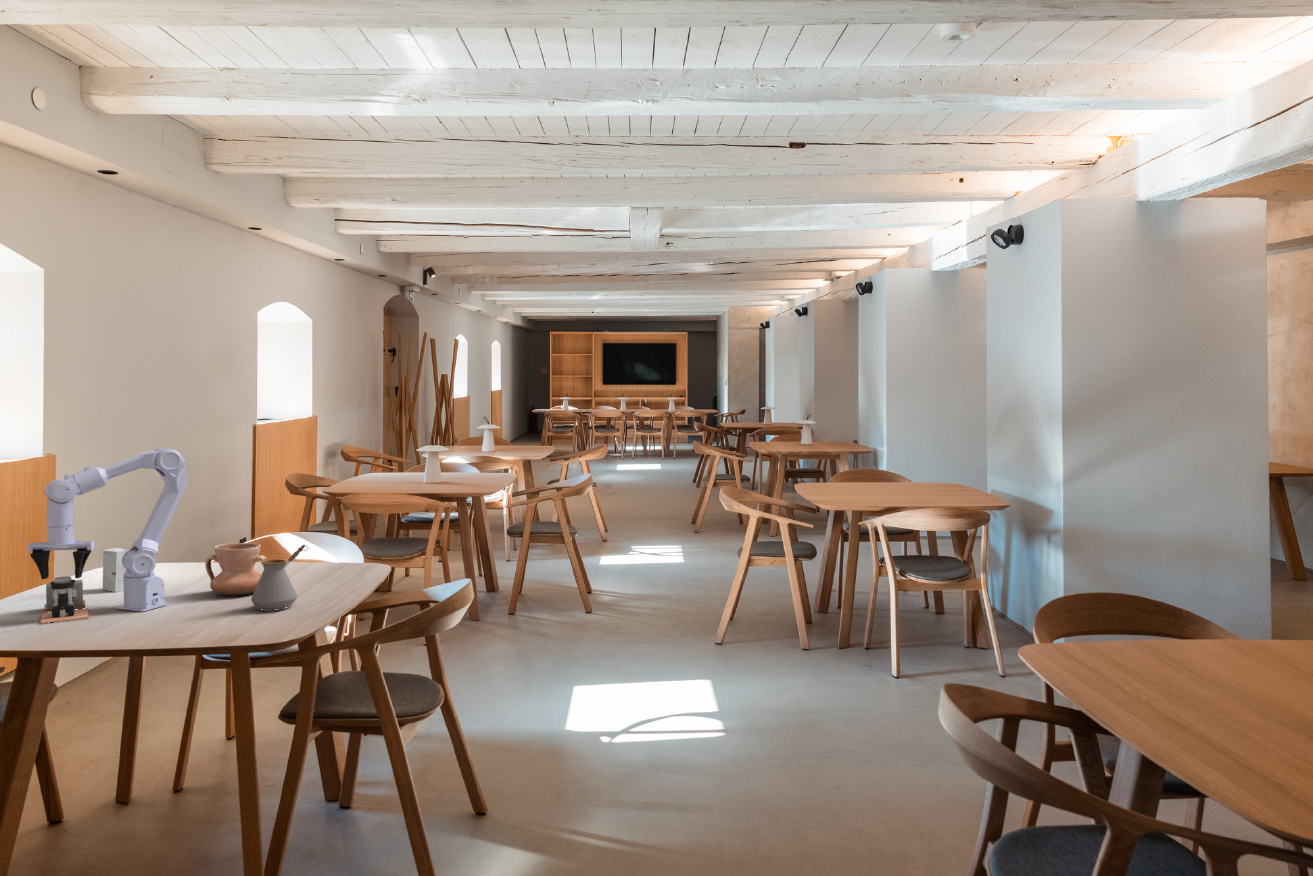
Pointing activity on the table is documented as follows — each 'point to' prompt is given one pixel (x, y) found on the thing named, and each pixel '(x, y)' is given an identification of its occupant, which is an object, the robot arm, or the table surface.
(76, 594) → the wall unit
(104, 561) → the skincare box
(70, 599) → the push button
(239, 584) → the ceramic jug
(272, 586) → the coffee pot
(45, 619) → the terracotta mat
